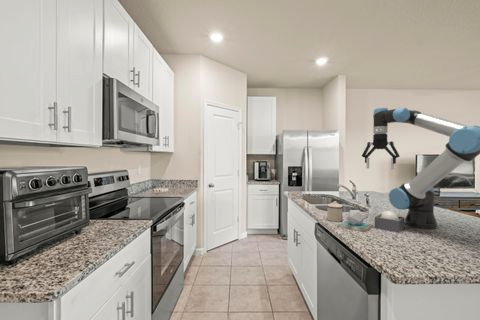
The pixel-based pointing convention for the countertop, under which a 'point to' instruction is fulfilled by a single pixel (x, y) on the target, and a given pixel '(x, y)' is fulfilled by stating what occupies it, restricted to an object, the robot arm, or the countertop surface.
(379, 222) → the dark grey open box
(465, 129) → the robot arm
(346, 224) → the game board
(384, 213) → the dome
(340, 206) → the teacup with lid
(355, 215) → the grey rock
